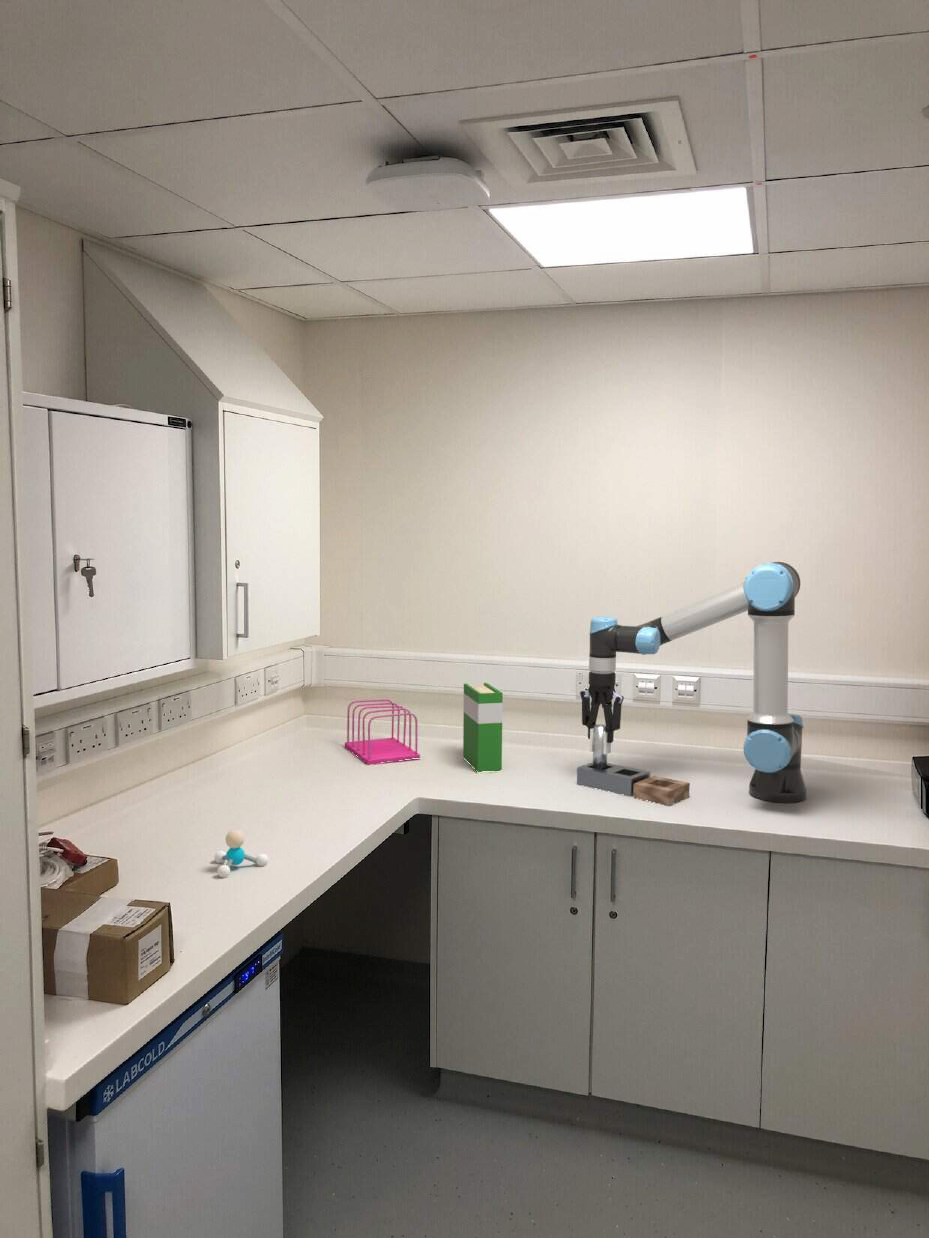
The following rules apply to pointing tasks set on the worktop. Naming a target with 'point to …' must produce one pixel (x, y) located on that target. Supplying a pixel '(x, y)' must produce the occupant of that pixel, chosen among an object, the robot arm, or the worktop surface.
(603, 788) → the block
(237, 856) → the molecule model
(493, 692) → the hardback book
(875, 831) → the worktop surface
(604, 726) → the silver metal cylinder
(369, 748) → the file sorter
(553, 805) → the worktop surface
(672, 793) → the walnut socket block
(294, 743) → the worktop surface
